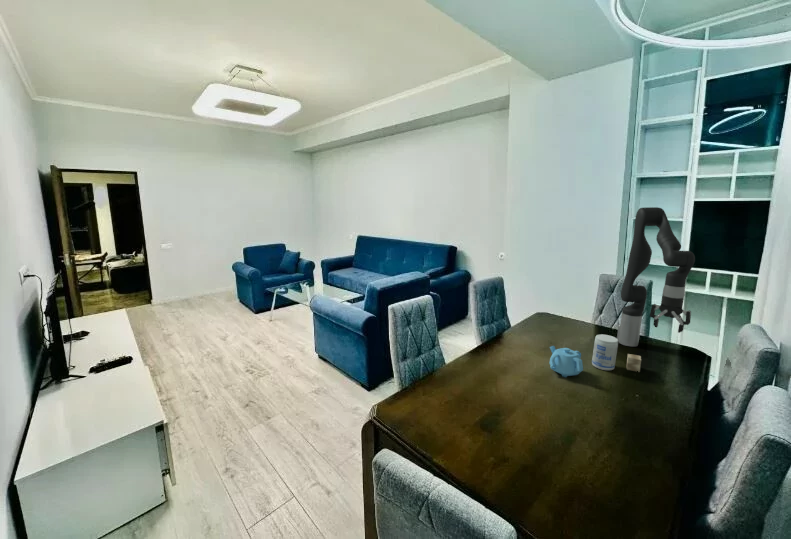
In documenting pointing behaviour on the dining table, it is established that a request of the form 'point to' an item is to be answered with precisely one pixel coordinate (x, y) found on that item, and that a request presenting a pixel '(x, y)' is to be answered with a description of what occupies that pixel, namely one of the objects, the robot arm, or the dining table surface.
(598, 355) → the supplement tub
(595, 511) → the dining table surface
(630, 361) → the maple block
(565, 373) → the teapot
